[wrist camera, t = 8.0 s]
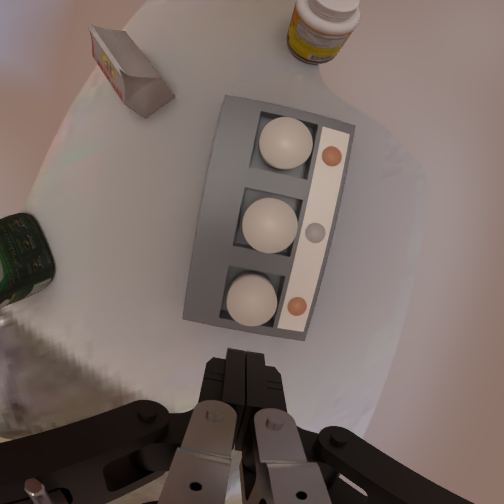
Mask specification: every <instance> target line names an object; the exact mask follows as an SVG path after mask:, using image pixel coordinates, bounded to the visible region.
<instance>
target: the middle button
mask: <svg viewBox="0 0 504 504" xmlns="http://www.w3.org/2000/svg"><path fill="white" fill-rule="evenodd" d="M242 229H243V234H244V237H245V239H246V241H247V242H248V243H249V244H250V245H251V246H252V247H253V248H254V249H256V250H258V251H260V252H263V253H277V252H280V251H282V250H284V249H286V248H287V247H288V246H289V245H290V244H291V243H292V242H293V240H294V239H295V237H296V234H297V229H298V222H297V217H296V215H295V213H294V211H293V209H292V208H291V207H290V206H289V205H288V204H287V203H285V202H284V201H281V200H279V199H275V198H271V197H265V198H260V199H257V200H255V201H254V202H252V203H251V204H250V205H249V206H248V207H247V209H246V211H245V213H244V216H243V222H242Z"/></svg>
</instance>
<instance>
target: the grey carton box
mask: <svg viewBox="0 0 504 504" xmlns="http://www.w3.org/2000/svg"><path fill="white" fill-rule="evenodd" d="M92 28H93V31H92V30H91V29H89V30H90V34H91V39H92V52H93V57H94V59H95V61H96V62H97V64H98V65H99V67H100V68H101V70H102V71H103V73H104V74H105V76H106V77H107V79H108V80H109V82H110V83H111V85H112V86H113V88H114V89H115V91H116V92H117V94H118V95H119V97H120V98H121V100H122V101H123V103H124V104H125V105H126V106H127V107H129V108H130V109H132V110H133V111H135V112H136V113H138V114H139V115H141V116H142V117H144V118H145V119H146V118H148V117H149V116H150V115H151V114H153V113H154V112H155V111H157V110H158V109H159V108H161V107H162V106H164V105H165V104H166V103H168V102H169V101H170V100H172V99H173V98H175V96H174V94H173V93H172V92H171V90H170V89H169V88H168V86H167V85H166V84H165V82H164V81H163V80H162V78H161V77H160V76H159V74H158V73H157V72H156V70H155V69H154V67H153V66H152V65H151V64H150V62H149V61H148V60H147V58H146V57H145V56H144V54H143V53H142V52H141V50H140V49H139V48H138V47H137V45H136V44H135V43H134V42H133V40H132V39H131V38H130V37H129V35H128V34H127V33H126V32H125V31H119V30H111V29H104V28H100V27H96V26H93V25H92Z"/></svg>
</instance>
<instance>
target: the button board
mask: <svg viewBox="0 0 504 504" xmlns="http://www.w3.org/2000/svg"><path fill="white" fill-rule="evenodd" d="M280 117H290V118H294V119H297V120H299V121H300V122H302V123H303V124H304V125H305V126H306V127H307V128H308V130H309V131H310V133H311V136H312V141H313V147H312V151H311V154H310V156H309V157H308V159H307V160H306V161H305V162H304V163H302V164H301V165H299V166H297V167H295V168H293V169H290V170H285V171H281V170H276V169H273V168H271V167H269V166H268V165H267V164H266V163H265V162H264V161H263V160H262V158H261V156H260V154H259V149H258V144H259V139H260V136H261V133H262V130H263V129H264V127H265V126H266V125H267V124H268V123H269V122H270V121H272V120H274V119H276V118H280ZM354 130H355V125H351V124H348V123H345V122H342V121H338V120H335V119H331V118H328V117H324V116H321V115H317V114H313V113H309V112H305V111H301V110H297V109H293V108H289V107H285V106H280V105H276V104H271V103H267V102H262V101H257V100H251V99H246V98H241V97H235V96H229V95H225V97H224V101H223V106H222V110H221V114H220V118H219V122H218V127H217V131H216V136H215V140H214V145H213V149H212V154H211V158H210V163H209V168H208V173H207V178H206V183H205V188H204V193H203V198H202V203H201V208H200V214H199V219H198V224H197V230H196V236H195V241H194V247H193V253H192V259H191V265H190V271H189V278H188V284H187V291H186V297H185V304H184V311H183V318H182V319H184V320H189V321H194V322H198V323H203V324H208V325H213V326H218V327H223V328H229V329H234V330H239V331H245V332H251V333H256V334H262V335H268V336H274V337H281V338H287V339H294V340H301V341H305V338H306V334H307V331H308V328H309V324H310V321H311V317H312V314H313V310H314V307H315V303H316V300H317V296H318V292H319V289H320V285H321V281H322V277H323V274H324V270H325V266H326V262H327V258H328V254H329V250H330V246H331V242H332V238H333V233H334V229H335V225H336V220H337V216H338V212H339V207H340V202H341V198H342V193H343V188H344V183H345V179H346V174H347V168H348V163H349V158H350V153H351V147H352V142H353V136H354ZM265 197H271V198H275V199H279V200H281V201H284V202H285V203H287V204H288V205H289V206H290V207H291V208H292V209H293V211H294V213H295V215H296V217H297V222H298V229H297V234H296V237H295V239H294V240H293V242H292V243H291V244H290V245H289V246H288V247H287V248H286V249H284V250H282V251H280V252H277V253H263V252H260V251H258V250H256V249H254V248H253V247H252V246H251V245H250V244H249V243H248V242H247V241H246V239H245V237H244V234H243V229H242V222H243V216H244V213H245V211H246V209H247V207H248V206H249V205H250V204H251V203H252V202H254V201H255V200H257V199H260V198H265ZM250 270H253V271H259V272H261V273H263V274H265V275H266V276H267V277H268V278H269V279H270V280H271V282H272V284H273V287H274V290H275V294H276V297H277V308H276V311H275V313H274V315H273V316H272V317H271V319H270V320H268V321H267V322H266V323H264V324H261V325H258V326H245V325H242V324H240V323H238V322H237V321H235V320H234V319H233V318H232V317H231V315H230V314H229V312H228V309H227V296H228V290H229V286H230V283H231V281H232V280H233V279H234V278H235V277H236V276H237V275H238V274H240V273H242V272H244V271H250Z"/></svg>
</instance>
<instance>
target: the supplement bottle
mask: <svg viewBox="0 0 504 504" xmlns="http://www.w3.org/2000/svg"><path fill="white" fill-rule="evenodd" d="M359 3H360V0H297V1H296V4H295V8H294V12H293V15H292V19H291V23H290V27H289V30H288V35H287V43H288V46H289V48H290V50H291V51H292V53H293V54H294V55H295V56H296V57H298V58H299V59H301V60H303V61H305V62H308V63H312V64H321V63H326V62H328V61H330V60H332V59H333V58H334V57H335V56H336V55H337V53H338V52H339V51H340V49H341V47H342V46H343V45H344V43H345V42H346V41H347V39H348V38H349V36H350V35H351V34H352V32H353V31H354V29H355V28H356V27H357V25H358V24H359V21H360V10H359V7H358V6H359Z"/></svg>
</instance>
